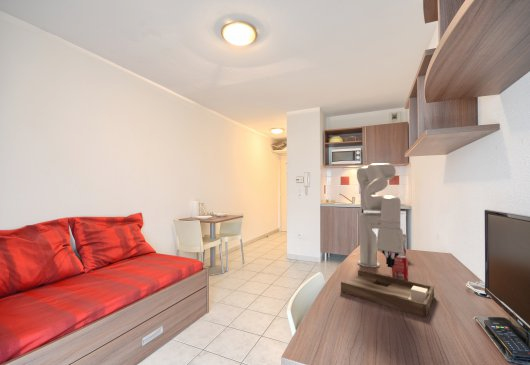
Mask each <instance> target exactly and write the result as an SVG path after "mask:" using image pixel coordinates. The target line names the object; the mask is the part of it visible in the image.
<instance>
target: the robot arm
mask: <svg viewBox="0 0 530 365" xmlns="http://www.w3.org/2000/svg"><path fill="white" fill-rule="evenodd" d="M396 171H397V170H396V168H395V166H394V164H393V163H386V162H383V163H381V162H380V163H379V162H377V163H371V164H369V165H367V166H362V167H358V169H357V170H356V179H357V182H358V184H359V185H358V186H359V187H360V188H359V190H360V193H359V194H360V207H361V208H360V209H362V210H363V211H371V212H361V213H360V214H359V215H358V217H357V220H358V226H359V227H358V228H359V259H358V260H357V264H358V265H359V266H361V267H365V268H379V267H380V266H381V264H380V262H378V252H380V253H382V255H383V256H384V257H385V259H386V261H385V264H386V265H387V268H390V269H392V267H393V266H394V265H395V257H397V256H403V255H404V254H405V253H404V237H403V234H404V232H403V229H402V228H401V199H400V197H398V196H396V195H393V194H377V193H379V192H381V191H383V190H385V189H386V188H387V187H388V186H389V185H388V184H389V183H388V182H389V180H390V181H391V180H392V179H394V178H395V177H396V174H397V172H396ZM374 229H375V230H376V229H377V230H378V231H377V233H376V232H374ZM389 252H392V255H391V256H390V253H389Z"/></svg>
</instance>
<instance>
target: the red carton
mask: <svg viewBox="0 0 530 365" xmlns="http://www.w3.org/2000/svg"><path fill="white" fill-rule="evenodd" d="M391 277H393V278H398V279H402V280H407V281H409V261H408V258H407V255H406V256H405V255H403V256H397V257H395V265H394V266H393V267H392V268H391Z"/></svg>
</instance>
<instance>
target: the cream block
mask: <svg viewBox="0 0 530 365" xmlns="http://www.w3.org/2000/svg"><path fill="white" fill-rule="evenodd" d="M427 294H428V289H426V288H422V287H418V286H413V287H412V288H411V299H412V300H415V301H419V302H424V300H425V298H426V296H427Z"/></svg>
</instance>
